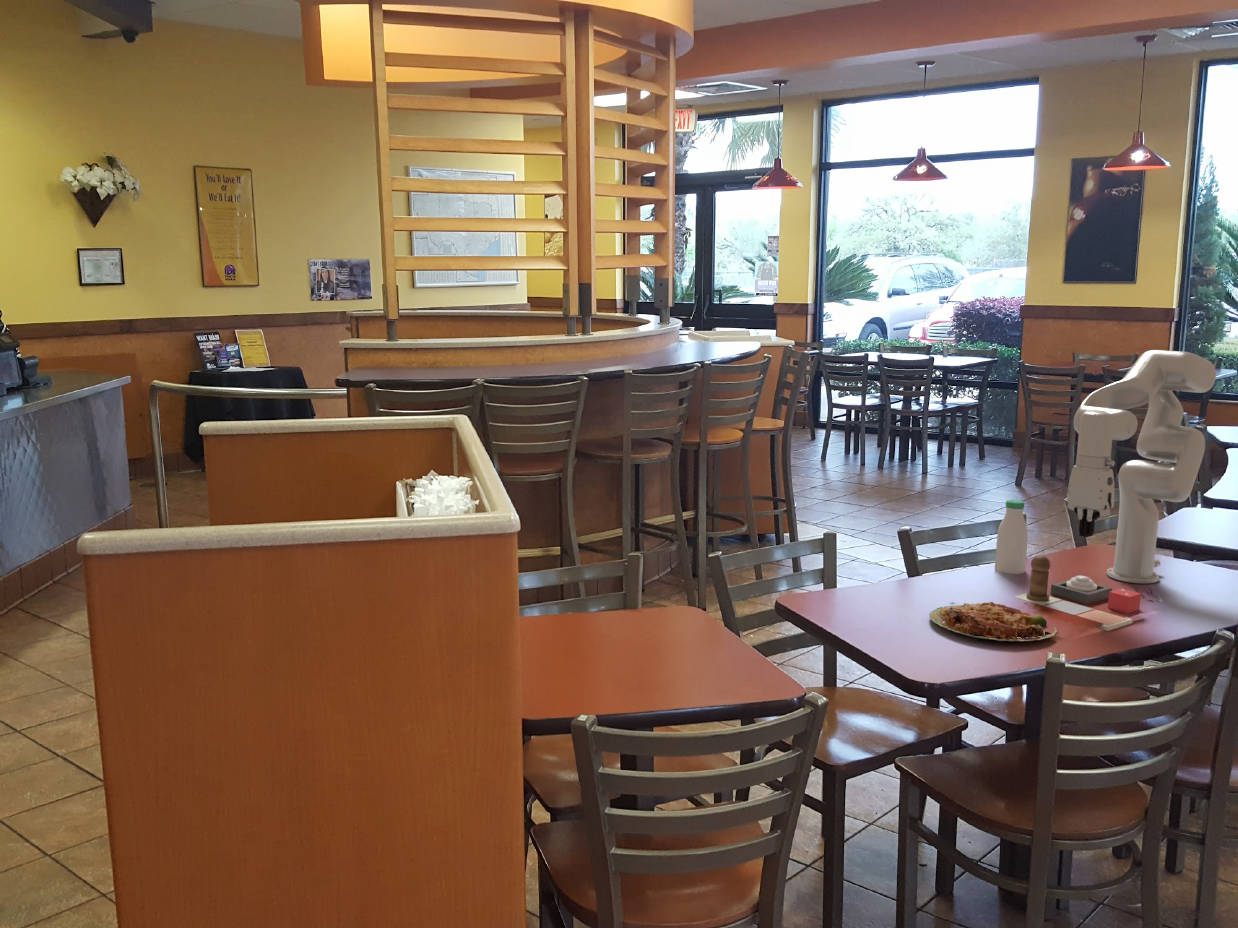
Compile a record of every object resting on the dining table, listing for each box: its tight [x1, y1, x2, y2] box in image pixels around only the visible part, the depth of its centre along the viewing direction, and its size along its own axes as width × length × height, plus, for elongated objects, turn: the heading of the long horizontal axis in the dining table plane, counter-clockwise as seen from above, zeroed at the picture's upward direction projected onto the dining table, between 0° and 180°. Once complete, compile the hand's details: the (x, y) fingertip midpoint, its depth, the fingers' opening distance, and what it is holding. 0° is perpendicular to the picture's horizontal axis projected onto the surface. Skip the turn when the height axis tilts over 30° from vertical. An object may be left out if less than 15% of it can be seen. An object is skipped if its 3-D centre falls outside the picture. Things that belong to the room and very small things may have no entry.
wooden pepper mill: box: [1026, 555, 1051, 601], centre depth 260 cm, size 5×5×11 cm
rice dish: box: [928, 601, 1058, 642], centre depth 242 cm, size 28×28×5 cm
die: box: [1107, 587, 1142, 618], centre depth 253 cm, size 5×5×5 cm
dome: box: [1066, 575, 1097, 593], centre depth 262 cm, size 7×7×3 cm
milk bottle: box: [994, 499, 1029, 575], centre depth 284 cm, size 8×8×20 cm
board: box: [1013, 592, 1134, 632], centre depth 254 cm, size 10×26×1 cm, turn 34°
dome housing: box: [1050, 578, 1113, 605], centre depth 263 cm, size 10×10×4 cm
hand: (1085, 535), depth 260 cm, fingers closed
